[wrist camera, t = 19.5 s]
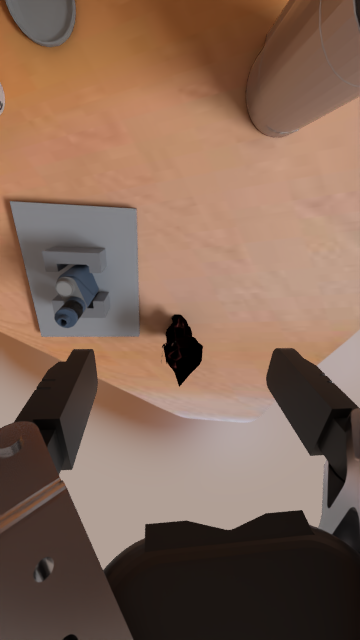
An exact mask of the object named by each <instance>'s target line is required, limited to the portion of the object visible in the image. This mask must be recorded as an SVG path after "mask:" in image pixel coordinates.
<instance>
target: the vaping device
mask: <svg viewBox="0 0 360 640" xmlns="http://www.w3.org/2000/svg"><path fill="white" fill-rule="evenodd" d="M55 290H56V292H57V293H58V294H59V295H60V296H61V297H62V299H63V301H64V304H63V306H62V307H61V308H60V309H59V310H58V311H57V312H56V313H55V316H54V318H55V321H56V323H57V324H58V325H59V326H61V327H64V328H71V327H73V326H74V325H75V324H76V323H77V321H78V320H79V318H80V317H81V315H82V314H83V313H84V312H85V311H86V309H87V307H88V306H89V305H90V303H91V301H92V300H93V298H94V297H95V295H96V294H97V292H98V291H99V288H98V286H97V283H96V281H95V279H94V276H93V274H92V273H90V272H89V266H87V265H82V264H76V265H74V266H73V267H71V268H70V269H69V270H67V271H66V272H64V273H63V274H62V275H60V276H59V278H58V279H57V282H56V285H55Z"/></svg>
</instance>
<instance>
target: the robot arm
mask: <svg viewBox="0 0 360 640" xmlns="http://www.w3.org/2000/svg"><path fill="white" fill-rule="evenodd" d="M359 96H360V0H289V1H288V3H287V4H286V6H285V7H284V9H283V10H282V12H281V14H280V15H279V17H278V18H277V20H276V21H275V23H274V24H273V26H272V27H271V29H270V31H269V32H268V34H267V36H266V41H265V45H264V48H263V49H262V51H261V52H260V54H259V55H258V57H257V58H256V60H255V62H254V64H253V66H252V68H251V71H250V74H249V77H248V81H247V88H246V103H247V108H248V113H249V115H250V118H251V120H252V122H253V123H254V125H255V127H256V128H257V129H258V130H259V131H260V132H262V133H264V134H265V135H267V136H271V137H283V136H286V135H289V134H291V133H293V132H295V131H297V130H299V129H300V128H302V127H304V126H306V125H308V124H310V123H312V122H313V121H315V120H317V119H319V118H321V117H323V116H324V115H326V114H328V113H330V112H332V111H334V110H335V109H337V108H339V107H341V106H343V105H345V104H347V103H348V102H350V101H352V100H354V99H356V98H358V97H359ZM97 380H98V379H97V371H96V363H95V355H94V351H93V349H74V350H73V351H72V352H71V354H70V356H69V357H68V359H67V361H66V362H58V363H57V364H55V365H54V366H53V367H52V368H50V369H49V370H48V371H47V373H46V374H45V376H44V377H43V379H42V381H41V382H40V383H39V385H38V386H37V389H36V390H35V391H34V393H33V394H32V396H31V397H30V399H29V400H28V402H27V403H26V405H25V406H24V408H23V409H22V411H21V412H20V414H19V415H18V417H17V418H16V420H15V422H14V423H12V424H9V425H6V426H4V427H2V428H0V640H360V408H359V407H358V406H357V405H356V404H355V403H354V402H353V401H352V400H351V399H350V398H348V396H346V394H345V393H343V392H342V391H341V390H340V389H339V388H338V387H337V386H336V385H335V384H334V383H332V381H331V380H330V379H329V378H328V377H327V376H325V374H324V373H323V372H322V371H321V370H320V369H319V368H318V367H317V366H316V365H314V364H312V363H311V362H309V361H307V360H306V359H304V358H303V357H302V356H301V355H300V354H299V353H298V352H297V351H296V350H295V349H293V348H276V349H275V350H274V351H273V354H272V357H271V361H270V365H269V369H268V372H267V377H266V381H267V386H268V389H269V390H270V392H271V394H272V395H273V397H274V398H275V400H276V402H277V403H278V405H279V406H280V407H281V410H282V411H283V413H284V414H285V416H286V418H287V419H288V421H289V422H290V424H291V426H292V427H293V429H294V430H295V432H296V433H297V435H298V437H299V438H300V440H301V442H302V443H303V445H304V446H305V448H306V449H307V451H308V453H309V454H310V456H313V455H324V456H325V457H326V459H327V460H326V462H325V464H324V479H323V500H322V516H321V521H320V524H319V527H318V528H317V527H313V526H311V525H309V524H308V522H307V519H306V518H305V515H304V513H303V511H302V510H300V511H288V512H277V513H266V514H264V515H262V516H260V517H258V518H256V519H254V520H252V521H249V522H247V523H245V524H243V525H241V526H239V527H237V528H235V529H232V530H224V529H220V528H216V527H211V526H207V525H203V524H198V523H194V522H189V521H177V522H167V523H156V524H146V525H145V527H146V528H145V538H144V539H142V540H140V541H138V542H136V543H134V544H133V545H131V546H129V547H128V548H126V549H125V550H124V551H123V552H121V553H120V554H119V555H118V556H116V557H115V558H114V559H113V560H112V561H111V562H110V563H109V564H108V565H107V566H106V568H105V569H104V570H103V569H102V567H101V565H100V562H99V560H98V558H97V556H96V554H95V551H94V549H93V547H92V544H91V542H90V540H89V537H88V535H87V533H86V531H85V529H84V526H83V524H82V522H81V519H80V517H79V515H78V512H77V510H76V508H75V506H74V503H73V501H72V499H71V496H70V494H69V492H68V490H67V488H66V486H65V483H64V482H63V481H61V479H60V477H59V473H60V471H61V470H72V468H73V465H74V462H75V459H76V455H77V452H78V449H79V446H80V443H81V440H82V436H83V433H84V430H85V427H86V424H87V421H88V417H89V414H90V411H91V408H92V405H93V402H94V399H95V396H96V392H97V384H98V381H97Z"/></svg>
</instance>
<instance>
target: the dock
mask: <svg viewBox="0 0 360 640" xmlns="http://www.w3.org/2000/svg"><path fill="white" fill-rule="evenodd" d="M10 205H11V209H12V214H13V218H14V222H15V226H16V231H17V235H18V239H19V243H20V247H21V252H22V256H23V260H24V264H25V268H26V273H27V277H28V281H29V285H30V290H31V294H32V298H33V302H34V306H35V311H36V315H37V319H38V323H39V327H40V332H41V336H42V337H106V336H139V335H140V323H139V283H138V243H137V209H133V208H116V207H99V206H82V205H65V204H48V203H31V202H14V201H10ZM76 264H82V265H87V266H89V272H90V273H92V274H93V276H94V279H95V281H96V283H97V286H98V288H99V291H98V292H97V294H96V295H95V297H94V298H93V300H92V301H91V303H90V305H89V306H88V307H87V309H86V311H85V312H84V313H83V314H82V315H81V317H80V318H79V320H78V321H77V323H76V324H75V325H74V326H73V327H71V328H64V327H61V326H59V325H58V324H57V323H56V321H55V318H54V316H55V313H56V312H57V311H58V310H59V309H60V308H61V307H62V306H63V304H64V301H63V299H62V297H61V296H60V295H59V294H58V293H57V292H56V290H55V285H56V282H57V279H58V278H59V276H60V275H62V274H63V273H64V272H66V271H67V270H69V269H70V268H71V267H73V266H74V265H76Z"/></svg>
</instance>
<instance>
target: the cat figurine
mask: <svg viewBox="0 0 360 640" xmlns="http://www.w3.org/2000/svg"><path fill="white" fill-rule="evenodd" d="M172 321H173V323H172V324H171V325H170V326H169V327H168V329H167V331H166V337H167V343H165V344H166V346H165V344H163V346H164V352H165V357H166V364H167V363H168V364H169V366H170V367H171V368H172V369H173V371H174V372H175V375H176V378H177V381H178V384H179V387H180V385H181V384H182V383H183V382H184V381H185V379H186V378H187V377H188V376H189V375H190V374H191V373H192V372H193V371H194V370H195V369H196V368H197V367H198V366H199V365H200V363H201V361H202V349H203V346H202V345H201V344H200V343H198V341H197V340H196V339H195V338H194V337H192V331H191V328H190V327H189V326H188V324H187V321H186V320H185V319H184V318H183V317H182V315H174V316H173V317H172ZM163 346H162V347H163ZM162 355H163V354H162ZM161 362H162V361H161Z"/></svg>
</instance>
